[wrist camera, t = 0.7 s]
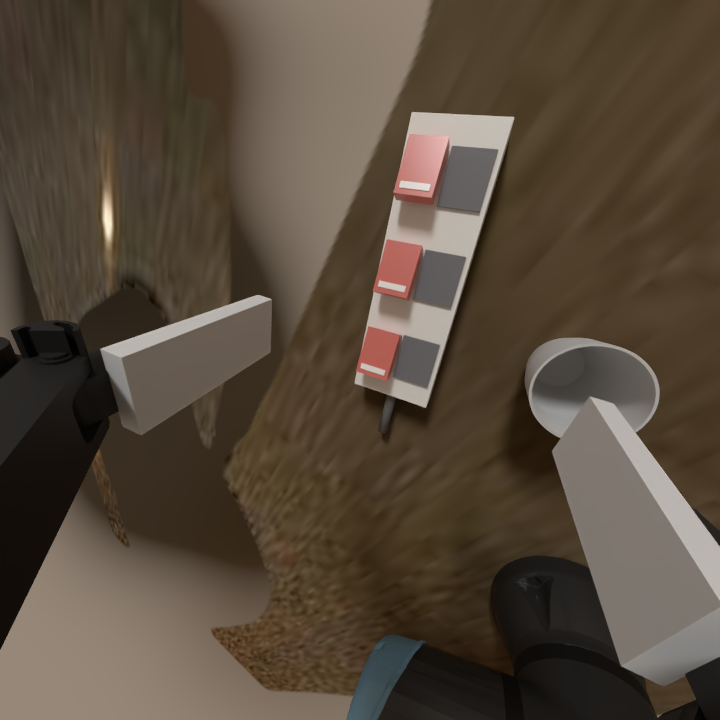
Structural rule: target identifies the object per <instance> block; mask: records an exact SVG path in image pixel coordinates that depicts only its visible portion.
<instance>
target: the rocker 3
mask: <svg viewBox="0 0 720 720" xmlns="http://www.w3.org/2000/svg"><path fill="white" fill-rule="evenodd" d="M401 337H402V335H399V334H395V333H392V332H388V331H384V330H381V329H377V328H374V327H370V326H368V330H367V333H366V337H365V340H364V344H363V348H362V351H361V355H360V358H359V362H358V366H357V369H356V371H357V372H360V373H363V374H366V375H369V376H372V377H375V378H378V379H381V380H384V381H388V380H389V378H390V375H391V371H392V368H393V365H394V361H395V358H396V354H397V351H398V348H399V344H400V341H401Z"/></svg>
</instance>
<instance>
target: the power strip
mask: <svg viewBox="0 0 720 720" xmlns="http://www.w3.org/2000/svg"><path fill="white" fill-rule="evenodd" d="M513 121H514V117H501V116H480V115H460V114H439V113H419V112H412V114H411V119H410V123H409V128H408V133H407V138H406V142H405V147H404V152H405V149H406V145H407V141H408V138H409V134H419V135H433V136H447V137H449V142H450V148H449V151H448V155H447V158H446V162H445V165H444V168H443V172H442V175H441V179H440V182H439V186H438V189H437V193H436V196H435V199H434V203H433V205H428V204H421V203H413V202H406V201H399V200H396V198H395V196H394V199H393V204H392V209H391V213H390V218H389V223H388V227H387V232H386V237H385V242H384V246H383V251H382V256H383V252H384V248H385V245H386V241H387V239H389V240H394V241H400V242H405V243H411V244H416V245H422V247H423V250H424V251H423V254H422V257H421V261H420V264H419V268H418V271H417V275H416V278H415V281H414V285H413V288H412V292H411V295H410V299H409V301H408V300H404V299H400V298H395V297H391V296H387V295H383V294H379V293H376V292H374V294H373V298H372V303H371V308H370V313H369V317H368V322H367V327H366V332H365V336H364V340H365V337H366V333H367V330H368V326H370V327H374V328H377V329H381V330H384V331H388V332H392V333H395V334H399V335H402V337H401V341H400V344H399V348H398V351H397V354H396V358H395V361H394V365H393V368H392V371H391V375H390V378H389V380H388V381H384V380H381V379H378V378H375V377H372V376H369V375H366V374H363V373H360V372H357V374H356V379H355V384H358V385H361V386H364V387H367V388H370V389H373V390H375V391H378V392H381V393H384V394H387V397H386V401H385V405H384V409H383V412H382V416H381V420H380V424H379V428H378V431H379V432H381V433H387V430H388V427H389V423H390V419H391V415H392V411H393V408H394V404H395V400H396V398H399V399H402V400H405V401H407V402H410V403H413V404H416V405H419V406H422V407H425V408H426V407H427V404H428V402H429V399H430V397H431V394H432V390H433V387H434V384H435V381H436V377H437V374H438V371H439V368H440V364H441V361H442V358H443V354H444V351H445V348H446V345H447V341H448V338H449V335H450V332H451V328H452V325H453V322H454V318H455V315H456V312H457V309H458V305H459V302H460V299H461V296H462V292H463V289H464V286H465V282H466V279H467V276H468V273H469V269H470V266H471V263H472V260H473V256H474V253H475V250H476V246H477V243H478V240H479V237H480V233H481V230H482V227H483V224H484V220H485V217H486V214H487V211H488V207H489V204H490V201H491V197H492V194H493V191H494V188H495V184H496V181H497V178H498V175H499V171H500V168H501V165H502V161H503V158H504V155H505V152H506V148H507V145H508V142H509V138H510V134H511V130H512V125H513ZM404 152H403V156H404ZM402 159H403V157H402ZM401 163H402V161H401ZM400 167H401V166H400ZM382 256H381V259H382ZM380 263H381V261H380ZM379 266H380V265H379ZM363 344H364V341H363ZM362 348H363V346H362Z"/></svg>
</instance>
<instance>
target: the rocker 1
mask: <svg viewBox="0 0 720 720" xmlns="http://www.w3.org/2000/svg"><path fill="white" fill-rule="evenodd" d="M449 148H450V142H449V137H447V136H433V135H419V134H409V138H408V141H407V145H406V149H405V152H404V156H403V159H402V163H401V167H400V170H399V174H398V178H397V181H396V185H395V189H394V192H393V193H394V196H395V198H396V200H399V201H406V202H413V203H421V204H428V205H433V203H434V199H435V196H436V193H437V189H438V186H439V182H440V179H441V175H442V172H443V168H444V165H445V162H446V158H447V155H448V151H449Z"/></svg>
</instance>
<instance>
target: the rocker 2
mask: <svg viewBox="0 0 720 720" xmlns="http://www.w3.org/2000/svg"><path fill="white" fill-rule="evenodd" d="M423 251H424V250H423V247H422V245H416V244H411V243H405V242H400V241H394V240H389V239H387V241H386V245H385V248H384V252H383V256H382V259H381V263H380V266H379V270H378V274H377V277H376V281H375V285H374V288H373V291H374V292H376V293H379V294H383V295H387V296H391V297H395V298H400V299H404V300H408V301H409V299H410V295H411V292H412V288H413V285H414V281H415V278H416V275H417V271H418V268H419V264H420V261H421V257H422V254H423Z"/></svg>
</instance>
